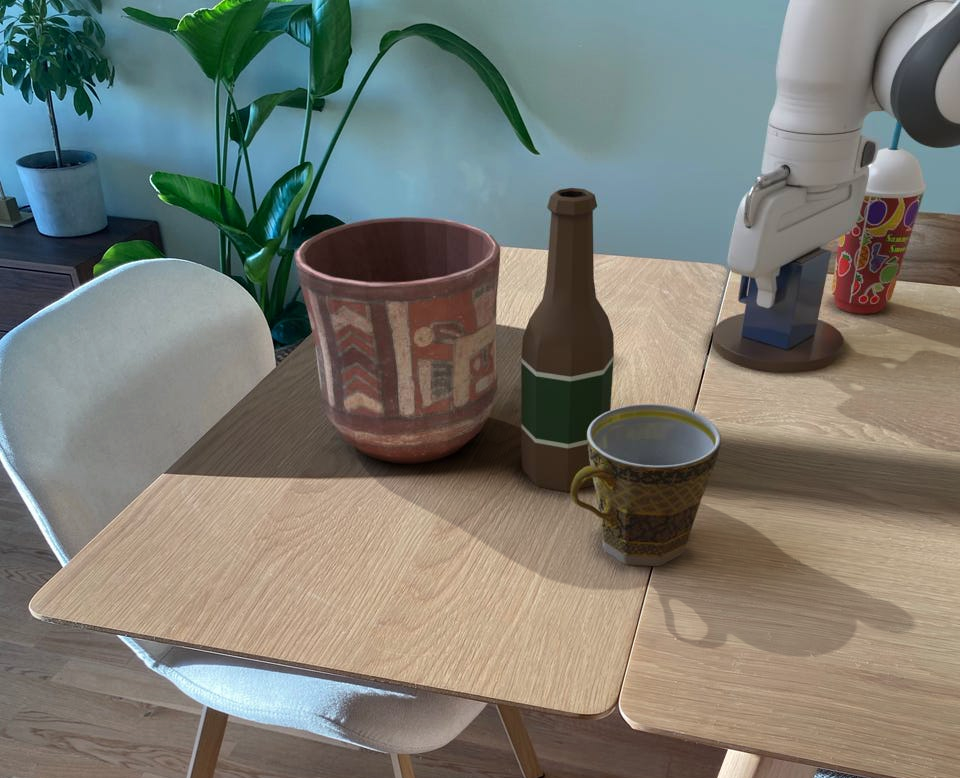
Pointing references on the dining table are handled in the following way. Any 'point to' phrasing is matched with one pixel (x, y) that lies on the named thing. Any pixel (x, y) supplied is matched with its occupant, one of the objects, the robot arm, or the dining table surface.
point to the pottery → (404, 332)
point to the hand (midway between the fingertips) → (785, 295)
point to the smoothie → (879, 232)
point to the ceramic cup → (648, 478)
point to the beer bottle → (565, 351)
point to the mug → (787, 302)
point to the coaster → (777, 348)
